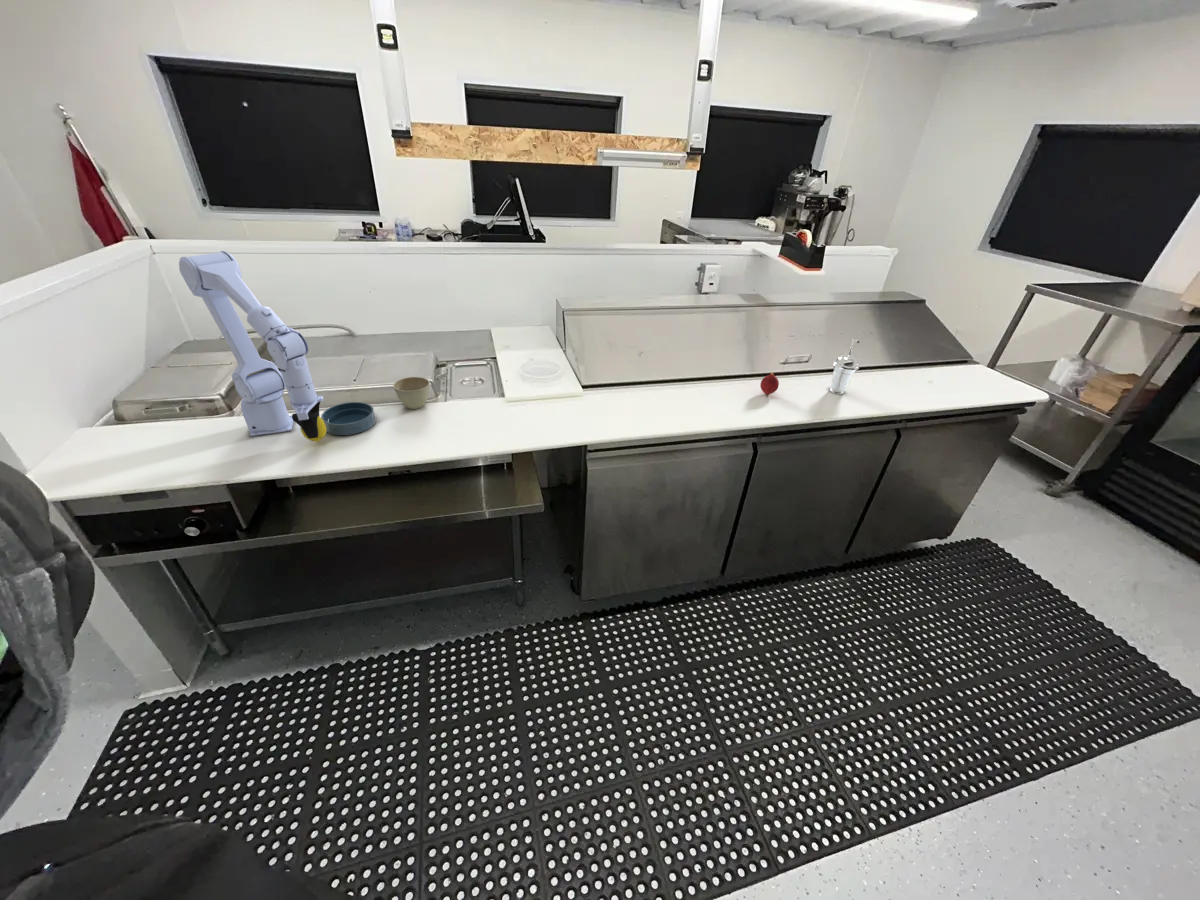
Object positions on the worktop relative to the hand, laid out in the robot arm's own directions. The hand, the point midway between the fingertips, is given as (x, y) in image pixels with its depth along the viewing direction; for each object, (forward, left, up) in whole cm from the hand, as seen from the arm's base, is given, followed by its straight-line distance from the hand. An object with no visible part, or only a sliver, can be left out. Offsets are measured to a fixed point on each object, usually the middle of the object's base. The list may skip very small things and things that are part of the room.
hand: (314, 431), depth 124 cm
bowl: (+7, +9, -4) cm, 12 cm away
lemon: (0, 0, -3) cm, 3 cm away
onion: (+136, -10, -4) cm, 136 cm away
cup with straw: (+162, -15, -4) cm, 163 cm away
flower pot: (+25, +15, -4) cm, 29 cm away
